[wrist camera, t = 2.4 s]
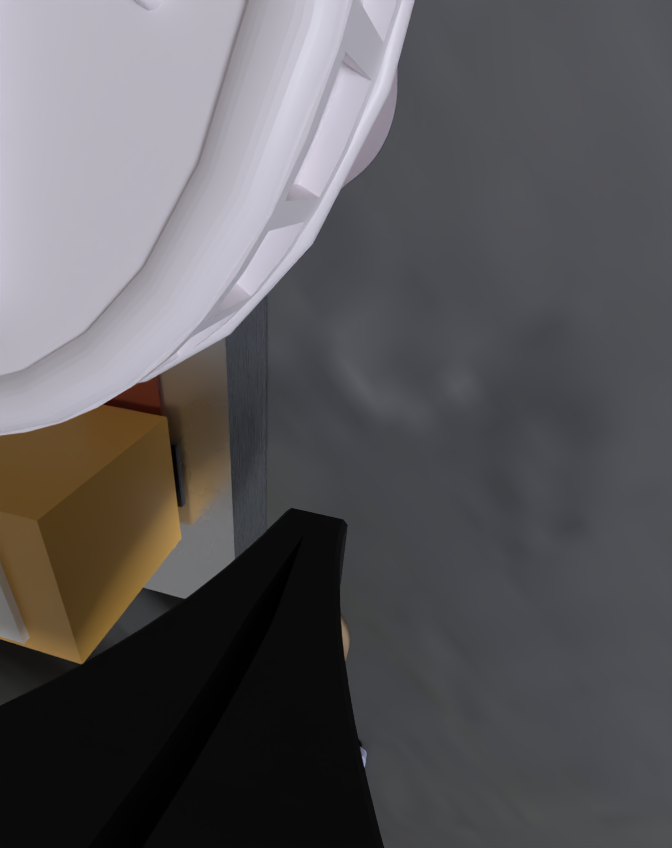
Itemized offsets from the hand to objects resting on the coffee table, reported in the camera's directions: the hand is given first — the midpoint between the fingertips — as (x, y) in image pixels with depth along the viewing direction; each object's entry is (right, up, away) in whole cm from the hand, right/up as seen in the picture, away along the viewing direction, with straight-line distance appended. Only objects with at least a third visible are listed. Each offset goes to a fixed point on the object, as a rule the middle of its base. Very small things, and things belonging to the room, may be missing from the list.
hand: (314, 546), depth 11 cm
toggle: (-5, +1, +2) cm, 6 cm away
